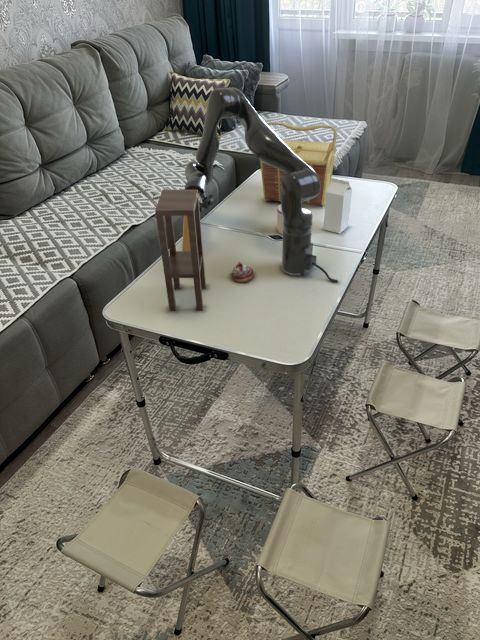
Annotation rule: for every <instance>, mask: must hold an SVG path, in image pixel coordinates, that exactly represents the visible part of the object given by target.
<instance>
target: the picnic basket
mask: <svg viewBox="0 0 480 640" xmlns="http://www.w3.org/2000/svg"><path fill="white" fill-rule="evenodd" d="M266 124H267V125H268V126H269V127H270V126H273V125H274V126H282V127H284V128H286V129H287V130H288V129H289V130H291V131H298V132H310V131H314V130H318V129H331V130H332V131H333V137H332V142H324V141H309V140H296V139H294V140H293V139H281V138H280V139H281V140H282V141H283V142H284V143H285V144H286V145H287V146H288V147H289V148H290V149H291V151H292V152H293V153H294V154H296V155H297V156H298V157H299V158H300V159H301V160H302V161H304V162H305V163H306V164H307V165H308V166H310V167H311V168H312V169H313V170H314V171H315V172H316V174H317V175H318V177H319V179H320V182H321V191H320V193H319V195H318V196H316V197H314V198H312V199H310V200H307V201H303V202H301V204H307V205H318V206H322V207H325V202H326V191H327V189H328V187H329V184H330V182H331V178H333V170H334V165H335V164H334V163H335V157H336V151H337V146H338V145H337V137H338V131H337V130H338V129H337V128H336V127H335V126H334V125H329V124H317V125H315V124H314V125H308V126H300V125H293V124H291V123H286V122H280V121H269V122H268V123H266ZM259 164H260V173H261V181H262V193H263V198H264V201H265V202H268V201H273V202H281V181H282V178H283V176H284V175H285V174H286V173H285V172H283V171H282V170H279V169H277V168H275V167H272V166H270V165H268V164H266V163H264V162H262V161H261V160H259Z"/></svg>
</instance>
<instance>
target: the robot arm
mask: <svg viewBox="0 0 480 640" xmlns="http://www.w3.org/2000/svg"><path fill="white" fill-rule="evenodd" d="M227 119H235V120H237V121H238V122H239V123H240V124H241V125H242V126H243V128H244V139H245V144H246V146H247V148H248V149H249V150H250V152H252V154H253V155H254V156H255V157H256V158H257V159H258V160H259V161H260V160H261V161H262V162H264V163H266V164H268V165H270V166H272V167H275V168H277V169H279V170H282V171H283V172H285V173H286V174H285V175H284V176H283V178H282V181H281V201H280V205H281V210H282V215H283V234H282V244H281V245H282V247H281V249H282V252H281V270H282V272H283V273H284V274H286V275H289V276H294V277H295V276H297V277H298V276H301V277H305V276H306V275H307V273H309V271H311V270H312V269H313V268H314V267H316V268H317V269H319V270H320V271H322V273H323V274H325V277H326V278H327V279H328V280H329V281H331V282H334V283H338V282H339V280H337V279H334V278H332V277H330V275H329V274H328V272H327V271H326V270H325V269H324V268H323V267H322V266H320V265H319V264H317V255H315V254H313V251H314V243H313V242H312V231H313V227H312V226H313V213H312V212H311V210H309V209H306V208H304V207H302V203H301V202H303V201H307V200H310V199H312V198H314V197H316V196H318V195H319V193H320V191H321V182H320V179H319V177H318V175H317V174H316V172H315V171H314V170H313V169H312V168H311V167H310V166H308V165H307V164H306V163H305V162H304V161H302V160H301V159H300V158H299V157H298V156H297V155H296V154H294V153H293V152H292V151H291V149H290V148H289V147H288V146H287V145H286V144H285V143H284V142H283V141H282V140H283V139H282V140H281V137H280V136H279V135H278V134H277V133H276V132H275V131H274V130H273V129H272V128H271V126H270V125H269V126H268V125H267V124H268V123H267V122H266V121H265V120H264V119H263V118H262V117H261V116H260V115H259V114H258V112H257V111H256V110H255V108H254V107H253V106H252V105H251V103H250V101H249V100H248V99H247V97H246V96H245V94H244V93H243V92H242V91H241V90H240V89H238V87H237V88H236V87H218V88H214V89H213V90H212V91H210V94H209V96H208V99H207V105H206V110H205V116H204V121H203V129H202V135H201V138H200V141H199V144H198V147H197V150H196V153H195V160H191V161H189V162H188V163H186V167H185V169H184V176H185V180H186V182H185V185H184V189H183V190H198V198H199V210H200V213H202V212H203V210H204V209H209V208H210V207H211V206H212V204H214V195H213V194H209V195H208V196H207V195H206V194H207V186H208V185H210V184H211V183H212V181H213V177H214V163H215V160H216V157H217V155H218V152H219V150H220V137H219V135H218V126H219V123H220V121H221V120H227Z"/></svg>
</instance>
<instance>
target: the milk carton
mask: <svg viewBox="0 0 480 640" xmlns="http://www.w3.org/2000/svg"><path fill="white" fill-rule="evenodd" d="M352 192H353V188H352V186H351V185H350V181H348V180H344V179H341V178H340V179H339V178H335V177H331V182H330V184H329V187H328V189H327V191H326V202H325V205H324V216H323V227H322V228H323V230H324V231H329V232H332V233H335V234H342V232H343V231H345V230H346V229H347V228H348V227H349V221H350V210H351V204H352V203H351V202H352V194H353V193H352Z"/></svg>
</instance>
